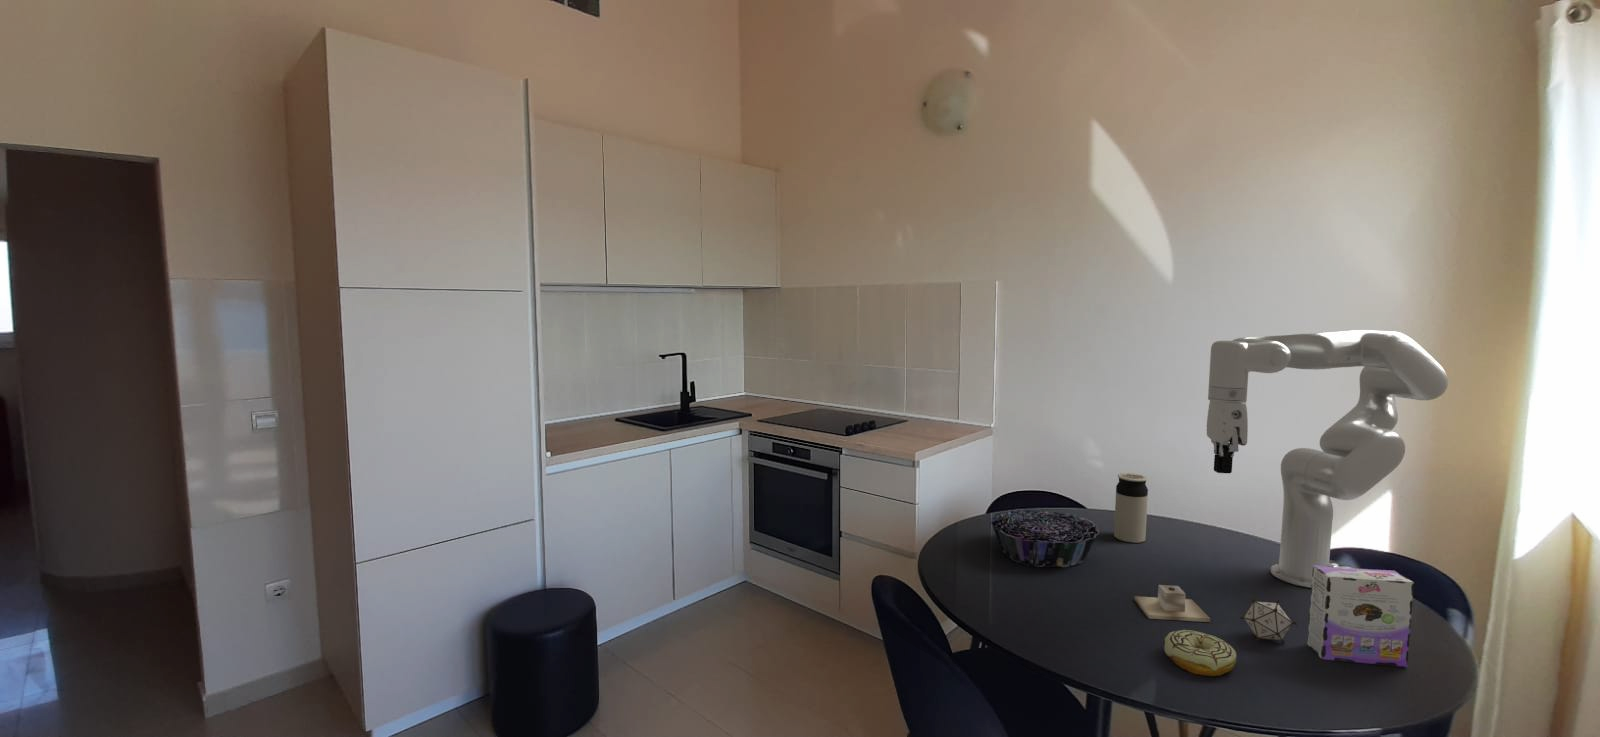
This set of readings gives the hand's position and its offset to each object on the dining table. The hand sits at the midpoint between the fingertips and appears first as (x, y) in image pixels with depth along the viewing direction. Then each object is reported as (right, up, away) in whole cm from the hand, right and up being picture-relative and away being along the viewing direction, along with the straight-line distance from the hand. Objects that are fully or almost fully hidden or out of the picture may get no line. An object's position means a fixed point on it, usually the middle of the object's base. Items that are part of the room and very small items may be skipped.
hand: (1222, 472), depth 155 cm
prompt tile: (-18, -28, -11) cm, 35 cm away
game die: (-6, -30, -23) cm, 38 cm away
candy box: (+6, -31, -29) cm, 43 cm away
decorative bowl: (-34, -26, +23) cm, 48 cm away
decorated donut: (-24, -31, -31) cm, 50 cm away
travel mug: (-6, -24, +33) cm, 41 cm away
